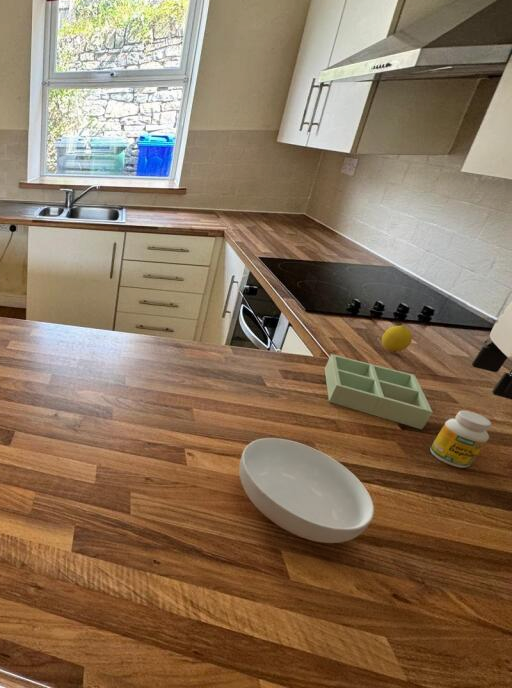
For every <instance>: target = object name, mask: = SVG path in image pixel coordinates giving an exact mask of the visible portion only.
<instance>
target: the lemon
mask: <svg viewBox="0 0 512 688" xmlns="http://www.w3.org/2000/svg"><path fill="white" fill-rule="evenodd" d="M412 333H413V332H411V330H410V329H409V328H407V327H406V326H405V325H394V326H390V327H389V328H387V330H386V331H385V332H383V334H382V337H381V343H382V345H383V347H384V348H385V349H387V350H388V352H389V353H393V352H402V351H404V350H406V349H407V348H408V347H410V345H411V343H412V340H413V334H412Z"/></svg>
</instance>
